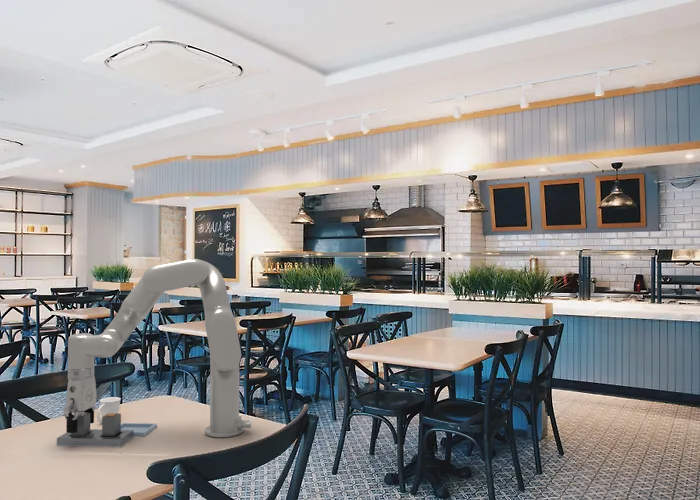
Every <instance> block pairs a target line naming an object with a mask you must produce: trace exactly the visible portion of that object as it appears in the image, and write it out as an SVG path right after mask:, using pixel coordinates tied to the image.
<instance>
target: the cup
mask: <svg viewBox="0 0 700 500" xmlns="http://www.w3.org/2000/svg"><path fill="white" fill-rule="evenodd" d="M121 399H122V398H121V397H117V396H114V397H112V396H110V397H108V396H107V397H104V398H101V399H100V400H99V407H98V409H97V413H96V418H97V421H98V422H99V423H100V424H102V419H101V418H102V417H103V416H105V415H106V414H108V413H119V411H120V404H121ZM100 413H101V415H100Z"/></svg>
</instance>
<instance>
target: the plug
mask: <svg viewBox="0 0 700 500" xmlns="http://www.w3.org/2000/svg"><path fill="white" fill-rule="evenodd" d="M76 419H78V429H77V432H76V433H71V436H81V437H84V436H86V435H88V434H89V433H90V429H91V423H90V413H85V412H84V411H83V412H79V413H78V415H77V418H76Z"/></svg>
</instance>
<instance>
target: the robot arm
mask: <svg viewBox="0 0 700 500" xmlns="http://www.w3.org/2000/svg"><path fill="white" fill-rule="evenodd" d="M194 286H197V287H198V288H199V290H200V294H201V301H202V305H203V311H204V327H205V332H206V338H207V343H208V349H209V359H210V360H209V361H210V362H209V364H210V368H209V369H210V370H209V371H210V375H209V376H210V382H209V383H210V385H209V386H210V387H209V390H210V391H209V392H210V393H209V397H210V398H209V426H207V427H206V428H204V429H205V430H204V433H205V435H206V436H208V437H211V438H231V437H235V436H237V435H240V434H242V433H243V432H244V428H245V429H251V428H252V422H251V421H250V420H243V419H242V415H241V416H240V362H241V359H242V351H241V344H240V340H239V339H240V338H239V333H238V328H237V322H236V319H235V316H234V314H233V312H232V309H231V305H230V304H231V303H230V299H229V298H230V297H229V295H228V289H227V285H226V282H225V280H224V277H223V275H222V274H221V272H220V271H219V269H217V267H216V266H214V265H213V264H211V263H210V262H208V261H205V260H202V259H198V258H190V259H184V260H181V261H175V262H171V263H165V264H159V265H157V264H156V265H152V266H150V267H148V268H146V270H144V272H143V275H142V277H141V278H140V279H139V281H138V282H137V284H136V285H135V286H134V288H132V290H131V291H130V292H129V294H128V295H127V296H126V297H125V299H124V300H123V302H122V303H121V306H120V308H119V310H118V312H117V314H116V315H115V316H114V318H113V319H112V320H111V321H110V323H109V324H108V326H106V328H104V330H103V332H102V333H100V334H96V335H95V334H91V333H87V332H86V333H85V332H83V333H72V334H71V335H70V336H69V337H68V340H67V347H68V348H67V380H68V382H67V389H66V399H65V400H66V404H65V406H64V407H63V409H62V410H63V413H64V417H65V420H66V429H65V430H66V432H65V433H76V432H77V429H78V419H76V418H77V415H78V413H79V412H85V413H90V424H94V423H95V410H96V404H97V397H98V396H97V395H98V394H97V383H96V382H97V381H96V378H95V358H103V359H105V358H110V357H113V356H115V354H116V353H117V352H118V351H119V350H120V349H121V348H122V346H123V345H124V343H126V341H127V340H128V338H129V337H130V336H131V335H132V333H133V332H134V330H135V329H136V328H137V326H138V325H139V324H140V323H141V322H142V321H143V320H145V318H146V317H147V316H148V314H149V313H150V312H151V311H152V309H153V308H154V307H155V305H157V304H156V303H158V302H159V300H160V299H161V297H162V296H163V295H164V293H165V292H168V291H169V292H170V291H173V290H179V289H184V288H189V287H194Z"/></svg>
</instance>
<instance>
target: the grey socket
mask: <svg viewBox="0 0 700 500" xmlns="http://www.w3.org/2000/svg"><path fill="white" fill-rule="evenodd" d="M101 418H102V419H101V421H102V423H101V429H94V428H93V429H92V428H90V433H89V434H88V435H86V436H84V437H81V436H71V433H67V432H65V433H63V434H62V435H60V436H58V437H56V447H75V448H76V447H82V448H87V447H88V448H121V447H123V446H124V445H125V444H127V443H128V442H130V441H131V440H132V439H134V436H133V430H121V424H122V413H119V412H118V413H108V414H106V415H105V416H103V417H102V416H101Z"/></svg>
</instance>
